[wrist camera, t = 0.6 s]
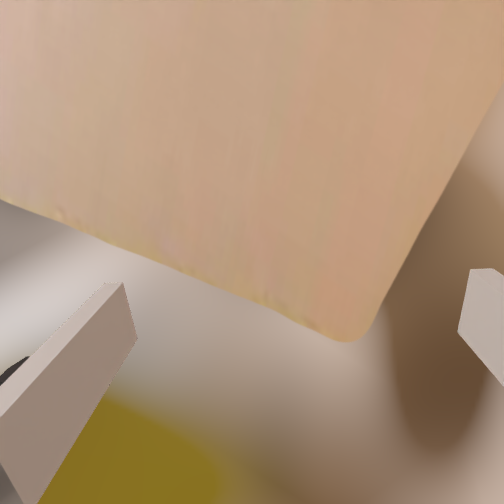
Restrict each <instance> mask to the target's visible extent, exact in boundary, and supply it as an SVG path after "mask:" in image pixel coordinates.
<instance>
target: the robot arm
mask: <svg viewBox="0 0 504 504" xmlns="http://www.w3.org/2000/svg"><path fill="white" fill-rule="evenodd" d="M458 333H459V334H460V336H461V337H462V338H463V339H464V340H465V341H466V343H467V344H468V345H469V346H470V347H471V349H472V350H473V351H474V352H475V353H476V354H477V356H478V357H479V358H480V359H481V360H482V361H483V363H484V364H485V365H486V366H487V367H488V368H489V370H490V371H491V372H492V373H493V374H494V376H495V377H496V378H497V379H498V380H499V382H500V383H501V384H502V385H503V386H504V276H503V275H502V274H500V273H499V272H497V271H496V270H494V269H493V268H492V269H470V274H469V279H468V284H467V289H466V294H465V298H464V303H463V308H462V312H461V317H460V322H459V327H458ZM136 341H137V335H136V331H135V327H134V323H133V319H132V316H131V312H130V308H129V304H128V300H127V296H126V293H125V289H124V285H123V283H104V284H103V285H102V286H101V287H100V288H99V289H98V290H97V291H96V292H95V293H94V294H93V295H92V296H91V297H90V298H89V299H88V300H87V301H86V302H85V303H84V304H83V305H82V306H81V307H80V308H79V309H78V310H77V311H76V312H75V313H74V314H73V315H72V316H71V317H70V318H69V319H68V320H67V321H66V322H65V323H64V324H63V325H62V326H61V327H60V328H59V329H58V330H57V331H56V332H55V333H54V334H53V335H52V336H51V337H50V338H49V339H48V340H46V341H45V342H44V344H42V346H40V348H38V349H37V350H36V352H34V353H33V354H32V355H31V356H30V357H25V358H24V359H22V360H21V361H19V362H17V363H16V364H14V365H13V366H11V367H10V368H8V369H7V370H6V371H5V372H4V373H3V374H2V375H1V376H0V504H37V503H38V501H39V499H40V498H41V496H42V494H43V493H44V491H45V489H46V488H47V486H48V485H49V483H50V481H51V480H52V478H53V476H54V475H55V473H56V472H57V470H58V468H59V466H60V465H61V463H62V462H63V460H64V458H65V457H66V455H67V454H68V452H69V450H70V449H71V447H72V445H73V444H74V442H75V440H76V439H77V437H78V436H79V434H80V432H81V431H82V429H83V427H84V426H85V424H86V422H87V421H88V419H89V418H90V416H91V414H92V413H93V411H94V409H95V408H96V406H97V404H98V403H99V401H100V399H101V398H102V396H103V395H104V393H105V391H106V390H107V388H108V386H109V385H110V383H111V381H112V380H113V378H114V377H115V375H116V373H117V372H118V370H119V368H120V367H121V365H122V364H123V362H124V360H125V359H126V357H127V355H128V354H129V352H130V351H131V349H132V347H133V346H134V344H135V342H136Z"/></svg>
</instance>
